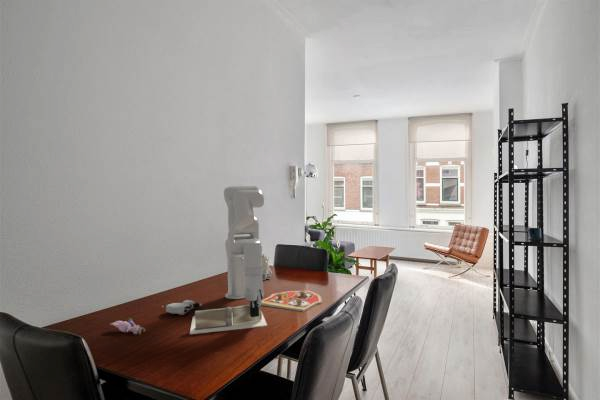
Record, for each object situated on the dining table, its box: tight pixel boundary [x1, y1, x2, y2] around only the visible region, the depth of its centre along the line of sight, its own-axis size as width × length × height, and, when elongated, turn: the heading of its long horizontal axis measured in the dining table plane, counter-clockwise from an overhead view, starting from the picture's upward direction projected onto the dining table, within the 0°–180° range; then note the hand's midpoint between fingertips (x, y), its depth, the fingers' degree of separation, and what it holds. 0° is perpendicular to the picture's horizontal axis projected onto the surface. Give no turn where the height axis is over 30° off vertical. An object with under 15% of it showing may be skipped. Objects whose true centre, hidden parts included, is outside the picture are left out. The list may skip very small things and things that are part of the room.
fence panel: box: [232, 304, 263, 324], centre depth 146 cm, size 12×1×7 cm, turn 113°
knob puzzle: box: [261, 289, 323, 313], centre depth 178 cm, size 29×30×4 cm
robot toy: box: [161, 299, 203, 316], centre depth 164 cm, size 12×4×15 cm
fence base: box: [194, 306, 233, 329], centre depth 142 cm, size 2×14×8 cm, turn 103°
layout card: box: [189, 310, 268, 335], centre depth 149 cm, size 20×30×1 cm, turn 103°
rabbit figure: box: [109, 318, 146, 335], centre depth 140 cm, size 6×6×15 cm
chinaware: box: [262, 253, 273, 281], centre depth 226 cm, size 28×17×17 cm, turn 18°
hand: (254, 316), depth 144 cm, fingers closed
